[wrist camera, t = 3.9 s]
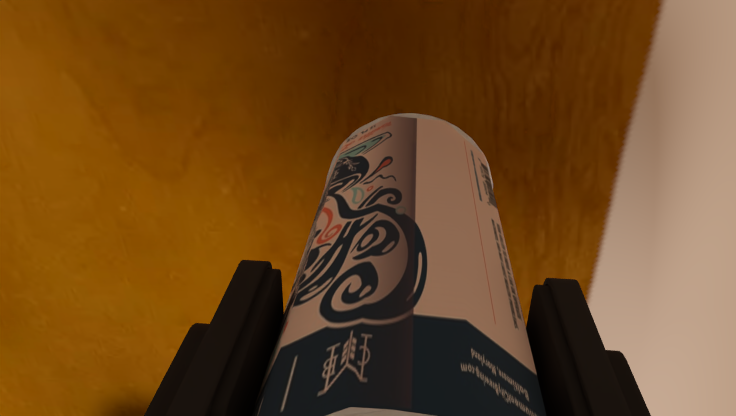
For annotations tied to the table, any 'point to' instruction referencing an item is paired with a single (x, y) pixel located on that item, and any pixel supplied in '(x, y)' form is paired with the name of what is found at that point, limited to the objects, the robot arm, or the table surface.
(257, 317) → the robot arm
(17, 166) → the table surface
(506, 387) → the beer can
